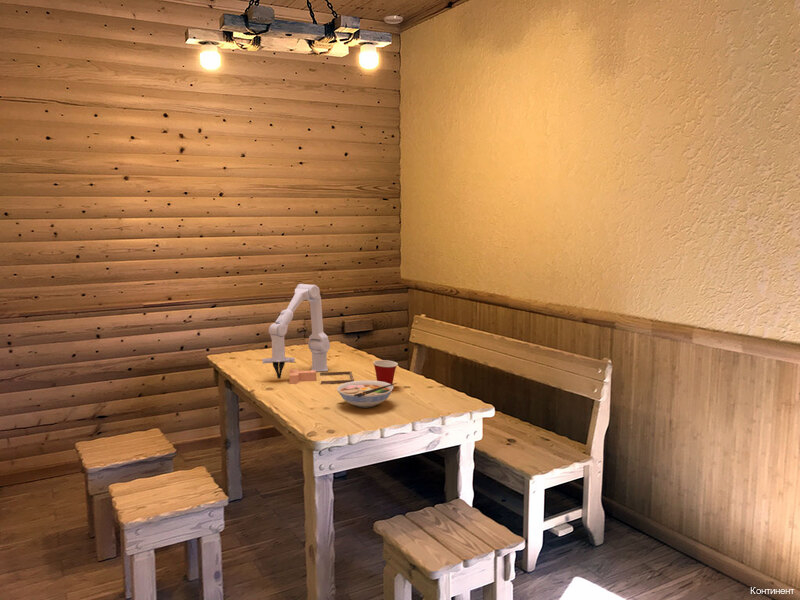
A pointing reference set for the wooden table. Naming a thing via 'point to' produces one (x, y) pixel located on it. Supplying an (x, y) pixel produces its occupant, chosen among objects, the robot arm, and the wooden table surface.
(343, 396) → the ramen bowl
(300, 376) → the t block
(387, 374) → the plastic cup
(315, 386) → the wooden table surface
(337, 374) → the frame
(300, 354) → the wooden table surface
